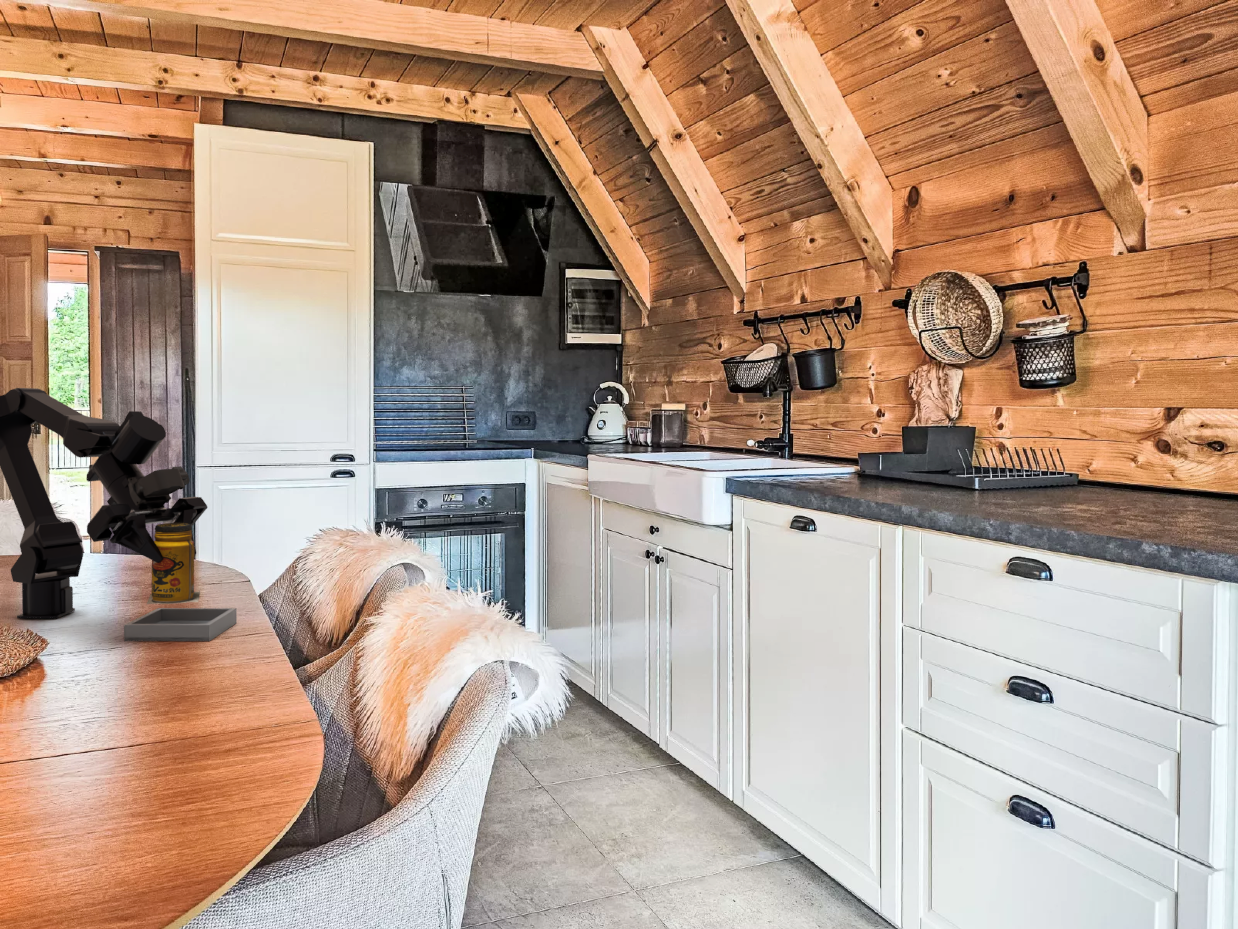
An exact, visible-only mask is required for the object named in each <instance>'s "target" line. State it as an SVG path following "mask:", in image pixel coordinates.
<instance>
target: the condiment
mask: <svg viewBox="0 0 1238 929" xmlns="http://www.w3.org/2000/svg"><path fill="white" fill-rule="evenodd" d="M192 527H193V526H192ZM192 527H191V525H190V524H186V523H165V524H163V523H160V524H158V523H157V524H156V525H155V526H154V532H155V533H154V535H153V537H154V540H153V541H154V542H155V544H156V545H157V547H158V549H159V550H160V552H161V554H162V556H163V560H162V561H161V563H157V562H155V561H153V560H151V590H150V595H149V596H148V599H147V602H146V605H173V604H185V603H186V604H187V603H199V600H200V594H201V591H195V556H194V544H195V541H194V542H193V541H192V539H191V537H192V535H193V533H192V534H191V531H192V529H193V528H192ZM192 532H193V531H192Z"/></svg>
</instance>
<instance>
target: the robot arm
mask: <svg viewBox="0 0 1238 929" xmlns="http://www.w3.org/2000/svg"><path fill="white" fill-rule="evenodd" d="M36 423H38V424H40V425H42V426H43V427H45V428H47V429H48V430H50V431H51V432H53V433H55V434H56V435H58V436H60V437H61V438H62V443H63V446H64V447H65V448H66V449H67V450H69V451H70V453H71V454H73V456H76V458H97V459H96V460H95V462H93V464H89V465H88V472H87V473H86V481H87V482H89V483H91V482H98V481H99V482H100V483H101V484H102V486H103V487H104V489H105V490H106V492H107V493H108V495H109V496H110V497H109V498H108V500H107V501H106V502H107V504H105V505H104V504H103V505H101V507H100V508H99V509H98V511H97V512H96V513H95V514H94V515H93V517H92V518H91V519H90V521H89V522H88V523H87V525H86V533H87V534H88V536H89V537H90V539H91V541H92V542H94V543H96V542H104V541H109V542H110V543H111V544H117V545H119V546H121V547H124V548H127V549H128V550H131V551H133V552H135V553H137V554H139V555H142V557H145V558H147V559H149V560H151V561H152V560H153V561H155V562H157V563H161V561H162V560H163V556H162V554H161V552H160V550H159V549H158V547H157V545H156V544H155V542H154V541H155V540H154V539H153V538H152V536H151V534H150V532H149V531H148V530H147V526H146V525H151V524H158V523H160V524H165V523H186V524H190V525H191V527H193V526H194V525H195V523H196V522H197V521H198V520H199V519H200V517H201V516H202V515H203V514H204V513H205V512H206V510H207V509H208V504H206V502H205V500H204V499H203V498H202V497H201V496H200V497H199V496H190V497H189V496H188V497H179V498H178V499H177V500H176V501H175V503H174V504H173V505H172V506H171V507H170V508H168V507H165V504H168V503H169V502H170V501H171V499H172V496H171V494H173V493H175V492H177V491H179V490H183V489H185V488H186V486H187V485H188V484H189V483H190V477H189V474H188V472H187V471H186V470H185V469H184V468H183V466H172V467H171V468H164V469H156V470H153V471H152V472H150V473H148V474H146V475H144V474H143V472H142V471H141V470H140V468H139V466H138V465H143V464H146V463H147V462H148V461H149V459H150V458H151V457H152V456H153V454H154V453H155V451H156V450H157V449H158V448H159V446H160V445H161V444H162V442H163V441H164V440H165V438H166V434H167V433H166V430H165V428H164V426H163V425H162V424H160V423H158V421H156V420H154V419H153V418H151V417H148V416H146V415H144V414H143V412H142V411H139V410H138V411H133V410H129V412H128V413H127V414H126V416H125V417H124V420H123V422H122V423H121V425H120V424H118V423H117V422H115V421H112V420H108V419H104V418H99V417H92V416H87V415H84V414H82V413H80V412H78V411H77V410H75V409H74V408H72V407H70V406H68V405H66V404H64V403H63V402H62V401H59V400H58V399H56V398H54V397H52V396H50V395H48V394H47V392H46V391H45V390H42V389H41V388H37V387H36V388H32V387H16V388H12V389H10V390H8V391H7V392H6V393H4V394H2V395H0V470H1V472H2V476H3V478H4V479H5V483H6V485H7V488H8V490H9V492H10V495H11V497H12V500H13V502H14V505H15V507H16V510H17V512H18V515H19V519H20V520H21V523H22V526H23V529H24V530H23V534H22V537H21V540H20V543H19V548H20V552H21V553H20V556H19V557H18V558H17V559H16V561H15V563H14V564H13V565H12V567H11V568H10V574H11V578H12V582H14V583H18V584H19V583H20V584H21V596H22V597H21V599H22V602H21V603H22V608H21V610H22V613H20V614H17V615H16V619H59V618H61V617H63V616H65V615H69V614H71V613H73V612H75V611H76V608H74V600H73V598H74V592H73V591H74V590H73V589H74V587H73V586H72V585H70V584H71V583H70V582H71V581H70V580H71V579H70V578H76V577H79V574H80V570H81V566H82V562H83V557H84V553H85V552H84V547H83V545H82V543H83V539H81V538H80V535H79V533H78V531H77V530H78V529H77V527H76V525H75V524H74V522H73V521H70V520H69V521H62V520H60V519H59V518H58V517H57V515H56V512H55V510H54V508H53V505H52V503H51V500H50V497H49V495H48V492H47V490H46V487H45V486H44V482H43V480H42V478H41V475H40V473H39V470H38V468H37V465H36V462H35V460H34V457H33V455H32V452H31V450H30V446H29V443H30V439H31V436H32V434H33V425H35V424H36ZM191 534H192V537H191V539H192V541H193V542H194V557H195V556H196V555H197V551H196V550H197V549H196V545H195V540H194V535H193V531H191Z"/></svg>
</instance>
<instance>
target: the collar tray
mask: <svg viewBox="0 0 1238 929" xmlns="http://www.w3.org/2000/svg"><path fill="white" fill-rule="evenodd" d="M237 612H238V611H237V608H235V607H234V608H233V607H231V608H230V607H229V608H228V607H221V608H220V607H218V608H216V607H213V608H212V607H208V608H206V607H158V608H156V609H154V610H152V611H150V612H147V613H146V614H143V615H141V616H140V617H138V618H136V619H133V620H131V621H129V622H127V623H125V624H124V625H123V641H124V642H210V641H212V640H213V639H215V638H216V637H218V636H220V634H223V633H224V632H226V631H227V630H229V629H230V628H232V627H233V626H234V625H236V624H237V618H238V617H237Z"/></svg>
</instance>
